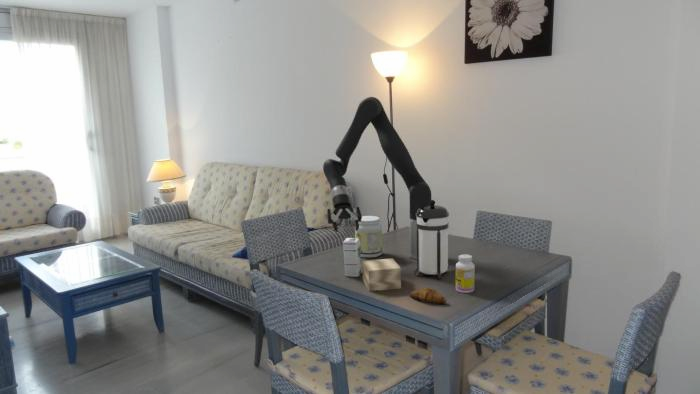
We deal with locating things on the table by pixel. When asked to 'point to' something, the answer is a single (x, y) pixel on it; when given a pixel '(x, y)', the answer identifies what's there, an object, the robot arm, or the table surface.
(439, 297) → the croissant
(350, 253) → the syrup box
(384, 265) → the riser block
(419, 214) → the coffee press
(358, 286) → the table surface
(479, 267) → the table surface
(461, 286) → the supplement bottle
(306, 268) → the table surface
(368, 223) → the supplement tub
